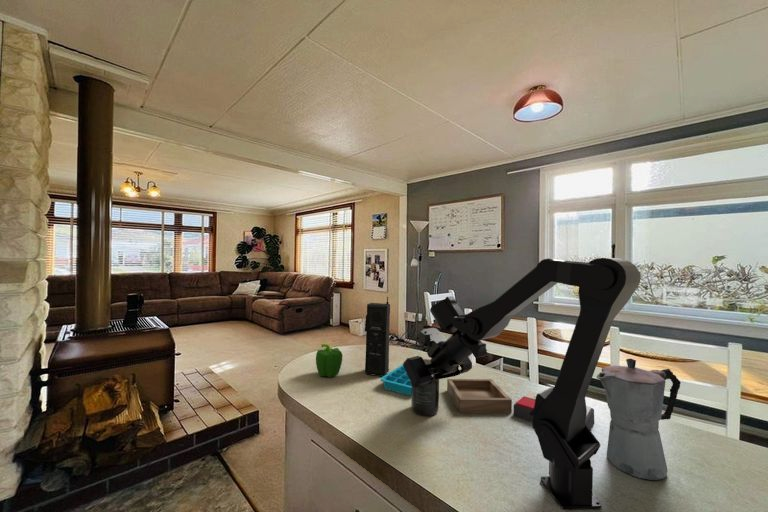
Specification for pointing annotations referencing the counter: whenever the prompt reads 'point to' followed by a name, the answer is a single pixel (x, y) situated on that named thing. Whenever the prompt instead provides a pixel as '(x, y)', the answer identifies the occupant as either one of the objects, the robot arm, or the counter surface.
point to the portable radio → (377, 338)
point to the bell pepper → (328, 361)
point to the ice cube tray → (398, 381)
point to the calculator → (528, 403)
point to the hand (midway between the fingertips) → (421, 381)
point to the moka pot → (637, 418)
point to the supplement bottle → (426, 396)
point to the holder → (478, 396)
